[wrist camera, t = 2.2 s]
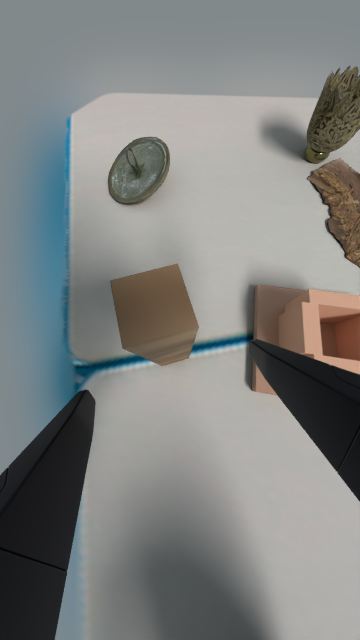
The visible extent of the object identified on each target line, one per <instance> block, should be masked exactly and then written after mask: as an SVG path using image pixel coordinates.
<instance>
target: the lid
mask: <svg viewBox="0 0 360 640" xmlns="http://www.w3.org/2000/svg"><path fill="white" fill-rule="evenodd" d="M169 166H170V154H169V149H168V147H167V145H166V144H165V143H164V142H163V141H162V140H161V139H158V138H156V137H143V138H138V139H135V140H134V141H133V142H131V143H129V144H128V145H127V146H126V147H125V148H124V149H123V150H122V151H121V152H120V154H119V155H118V156H117V158H116V159H115V162H114V163H113V165H112V167H111V169H110V172H109V178H108V183H109V191H110V194H111V195H112V197H113V198H114V199H115V200H116V201H118V202H120V203H124V204H133V203H137V202H140V201H143V200H144V199H146V198H148V197H149V196H151V195H152V194H153V193H155V192H156V191H157V189H158V188H159V187H160V186H161V185H162V183H163V182H164V180H165V178H166V176H167V173H168V171H169Z"/></svg>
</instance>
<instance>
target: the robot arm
mask: <svg viewBox="0 0 360 640" xmlns="http://www.w3.org/2000/svg"><path fill="white" fill-rule="evenodd" d="M250 355H251V357H252V359H253V360H254V362H255V364H256V365H257V367H258V368H259V370H260V372H261V373H262V375H263V377H264V378H265V380H266V381H267V382H268V384H269V385H270V386H271V387H272V389H273V390H274V391H275V393H276V394H277V395H278V397H279V398H280V399H281V400H282V402H283V403H284V404H285V406H286V407H287V408H288V409H289V411H290V412H291V413H292V415H293V416H294V417H295V418H296V420H297V421H298V422H299V424H300V425H301V426H302V428H303V429H304V430H305V431H306V433H307V434H308V435H309V437H310V438H311V439H312V440H313V442H314V443H315V444H316V446H317V447H318V448H319V449H320V451H321V452H322V453H323V455H324V456H325V457H326V458H327V460H328V461H329V462H330V464H331V465H332V466H333V468H334V469H335V470H336V471H337V472H338V474H339V475H340V477H341V478H342V479H343V481H344V482H345V483H346V484H347V486H348V487H349V488H350V490H351V491H352V492H353V494H354V495H355V496H356V497H357V499H358V500H359V501H360V374H357V373H354V372H351V371H348V370H345V369H342V368H339V367H336V366H333V365H330V364H327V363H325V362H322V361H319V360H316V359H313V358H310V357H308V356H305V355H302V354H299V353H296V352H293V351H291V350H288V349H285V348H282V347H279V346H276V345H273V344H271V343H268V342H265V341H262V340H259V339H254V340H251V341H250ZM94 416H95V399H94V398H93V396H92V395H91V393H90V392H89V390H83V391H79V392H78V393H77V394H76V395H75V396H74V397H73V398H72V399H71V400H70V401H69V402H68V404H67V405H66V406H65V407H64V408H63V409H62V410H61V411H60V412H59V413H58V414H57V415H56V417H54V419H53V420H52V421H51V422H50V423H49V424H48V425H47V426H46V427H45V428H44V429H43V430H42V431H41V432H40V433H39V435H38V436H37V437H36V438H35V439H34V440H33V441H32V442H31V443H30V444H29V445H28V446H27V447H26V448H25V449H24V450H23V451H22V453H21V454H20V455H19V456H18V457H17V458H16V459H15V460H14V461H13V462H12V463H11V464H10V465H9V468H7V469H6V470H5V471H4V472H3V473H2V474H1V475H0V640H55V634H56V629H57V624H58V619H59V613H60V608H61V603H62V597H63V592H64V586H65V580H66V576H67V569H68V564H69V559H70V554H71V548H72V543H73V537H74V532H75V527H76V522H77V516H78V511H79V506H80V500H81V495H82V490H83V484H84V479H85V474H86V468H87V463H88V458H89V452H90V447H91V442H92V436H93V428H94Z"/></svg>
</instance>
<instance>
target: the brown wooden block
mask: <svg viewBox="0 0 360 640" xmlns="http://www.w3.org/2000/svg"><path fill="white" fill-rule="evenodd" d="M110 282H111V288H112V293H113V299H114V304H115V310H116V315H117V321H118V326H119V331H120V337H121V342H122V348H123V349H125V350H127V351H130V352H132V353H134V354H136V355H139V356H141V357H143V358H146V359H148V360H150V361H152V362H155V363H157V364H159V365H161V366H164V365H167V364H170V363H174V362H177V361H181V360H184V359H187V358H189V355H190V352H191V349H192V346H193V343H194V340H195V337H196V334H197V331H198V328H199V326H198V323H197V320H196V317H195V314H194V311H193V308H192V305H191V302H190V299H189V296H188V293H187V290H186V287H185V284H184V281H183V278H182V275H181V272H180V269H179V266H178V264H174V265H170V266H166V267H162V268H158V269H155V270H151V271H147V272H143V273H139V274H135V275H131V276H127V277H123V278H119V279H115V280H111V281H110Z"/></svg>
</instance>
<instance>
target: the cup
mask: <svg viewBox="0 0 360 640" xmlns="http://www.w3.org/2000/svg"><path fill="white" fill-rule="evenodd" d="M339 71H340V68H339V69H338V70H337V72H336V74H335V75H334V74H333V72H332V71H331V73H330V74H329V76H328V78H327V80H326V83H325V85H324V88H323V91H322V93H321V95H320V98H319V100H318V102H317V105H316V107H315V110H314V112H313V115H312V117H311V120H310V123H309V126H308V130H307V142H308V144H309V145H308V146H307V148H306V150H305V158H306V159H307V160H308V161H310V162H312V163H320V162H322V161H324V160H325V159H326V158H327V157H328V156H329V154H330V152H332V151H335V150H337V149H339V148H340V147H342V146H343V145H344V144H346V143H347V142H348V141H349V140H350V139H351V138H352V137H353V136H354V135H355V133H356V132H357V131H358V130H359V129H360V75H359V77H357V75H358V67H355V68H353V69H352V70H351V71H350V66H349V67H348V68H347V69H346V70H345V71H344V72H343V73H342V74H341V75H340V74H339ZM339 75H340V76H339ZM356 78H357V79H356Z"/></svg>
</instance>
